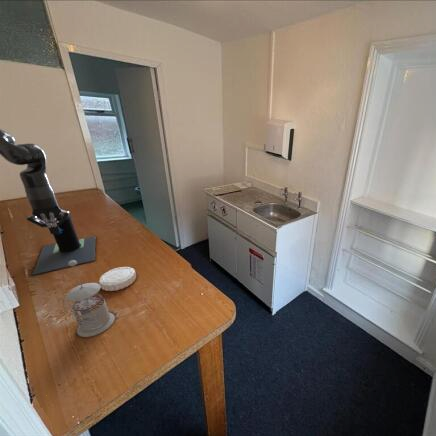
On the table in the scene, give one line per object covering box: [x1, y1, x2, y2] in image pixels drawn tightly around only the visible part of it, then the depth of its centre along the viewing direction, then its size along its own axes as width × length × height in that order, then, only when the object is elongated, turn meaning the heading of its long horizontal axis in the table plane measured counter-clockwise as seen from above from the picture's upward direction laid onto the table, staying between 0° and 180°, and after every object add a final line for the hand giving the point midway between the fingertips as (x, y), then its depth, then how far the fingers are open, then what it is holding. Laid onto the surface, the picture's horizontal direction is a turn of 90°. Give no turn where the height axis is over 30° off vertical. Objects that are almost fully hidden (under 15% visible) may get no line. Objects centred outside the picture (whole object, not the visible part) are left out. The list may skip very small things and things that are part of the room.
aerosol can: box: [50, 213, 81, 252], centre depth 109 cm, size 8×8×20 cm
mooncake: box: [98, 266, 137, 292], centre depth 94 cm, size 12×12×4 cm
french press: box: [61, 260, 116, 338], centre depth 71 cm, size 10×12×25 cm
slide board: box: [32, 236, 96, 276], centre depth 110 cm, size 20×26×1 cm
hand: (56, 234), depth 100 cm, fingers closed
